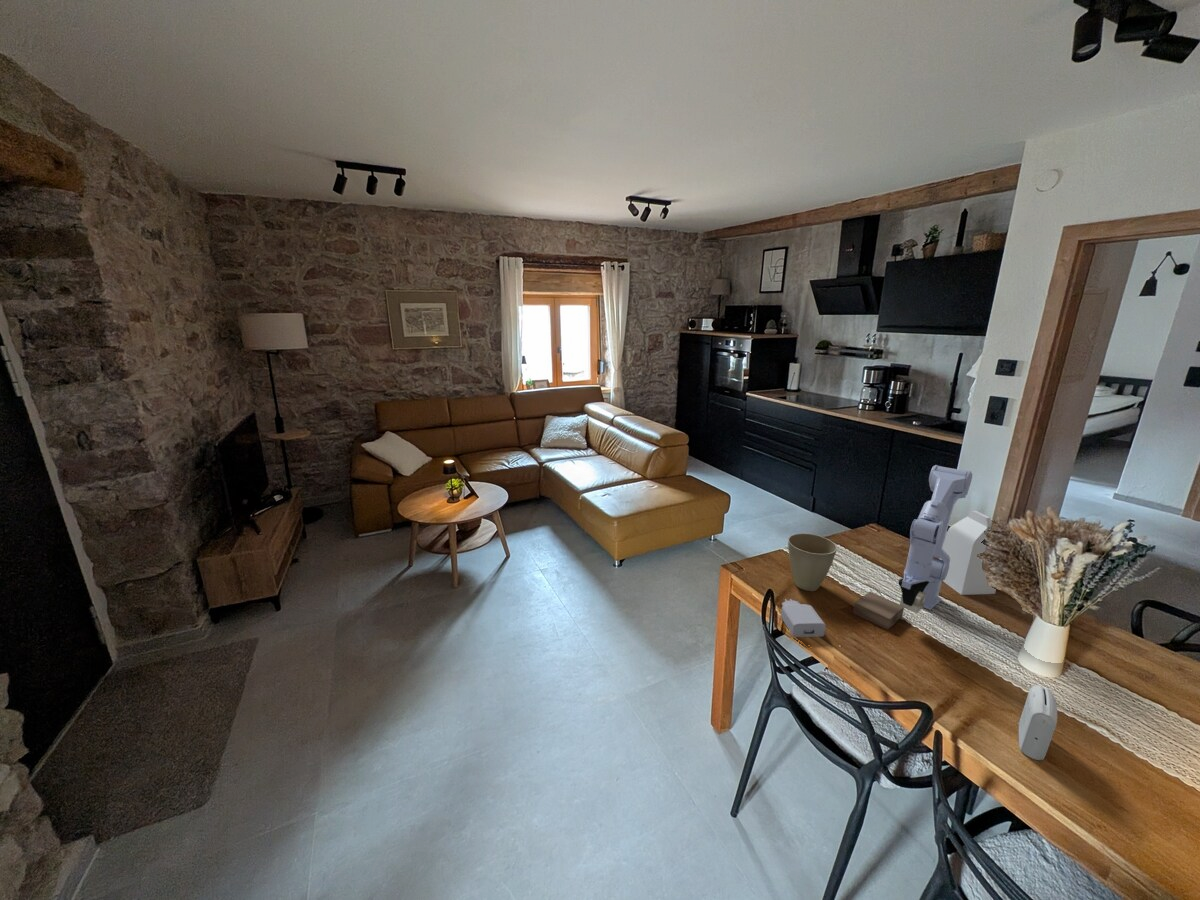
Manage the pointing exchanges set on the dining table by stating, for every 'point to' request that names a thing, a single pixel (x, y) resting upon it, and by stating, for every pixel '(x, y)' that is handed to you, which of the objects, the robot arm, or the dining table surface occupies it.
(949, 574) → the milk
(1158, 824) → the dining table surface
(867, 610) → the walnut block
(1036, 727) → the photo printer
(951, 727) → the dining table surface
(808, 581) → the plant pot
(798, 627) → the charger
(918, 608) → the maple cube
